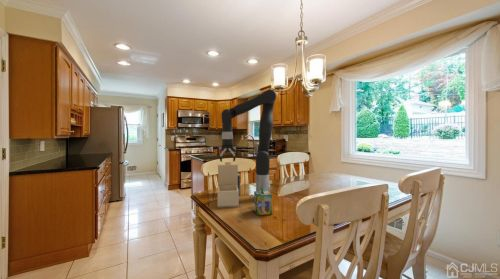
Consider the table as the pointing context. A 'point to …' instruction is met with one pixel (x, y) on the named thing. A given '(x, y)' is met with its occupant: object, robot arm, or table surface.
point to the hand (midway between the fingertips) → (227, 161)
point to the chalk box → (262, 202)
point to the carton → (228, 196)
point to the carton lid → (228, 174)
